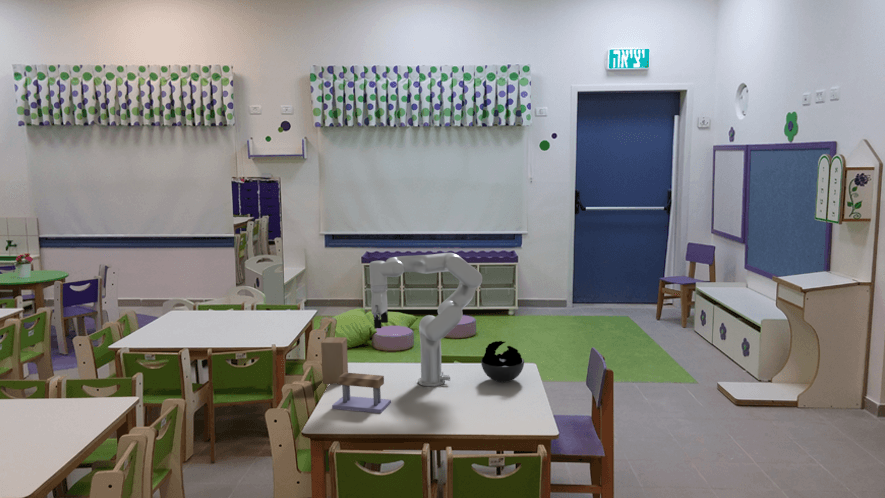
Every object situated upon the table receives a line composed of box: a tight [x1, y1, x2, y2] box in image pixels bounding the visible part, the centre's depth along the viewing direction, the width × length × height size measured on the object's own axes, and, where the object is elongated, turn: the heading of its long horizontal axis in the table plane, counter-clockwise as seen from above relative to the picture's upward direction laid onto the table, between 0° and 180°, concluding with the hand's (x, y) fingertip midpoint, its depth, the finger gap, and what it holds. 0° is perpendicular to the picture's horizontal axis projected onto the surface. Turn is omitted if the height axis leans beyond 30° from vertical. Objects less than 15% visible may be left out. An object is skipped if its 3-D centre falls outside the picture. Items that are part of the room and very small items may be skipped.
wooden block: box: [320, 336, 349, 385], centre depth 327 cm, size 10×10×20 cm
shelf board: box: [338, 372, 385, 389], centre depth 293 cm, size 18×6×4 cm, turn 72°
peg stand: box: [331, 385, 392, 414], centre depth 294 cm, size 22×12×10 cm, turn 74°
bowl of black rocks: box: [480, 340, 525, 383], centre depth 322 cm, size 20×20×19 cm
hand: (381, 325), depth 314 cm, fingers open, 9 cm apart
